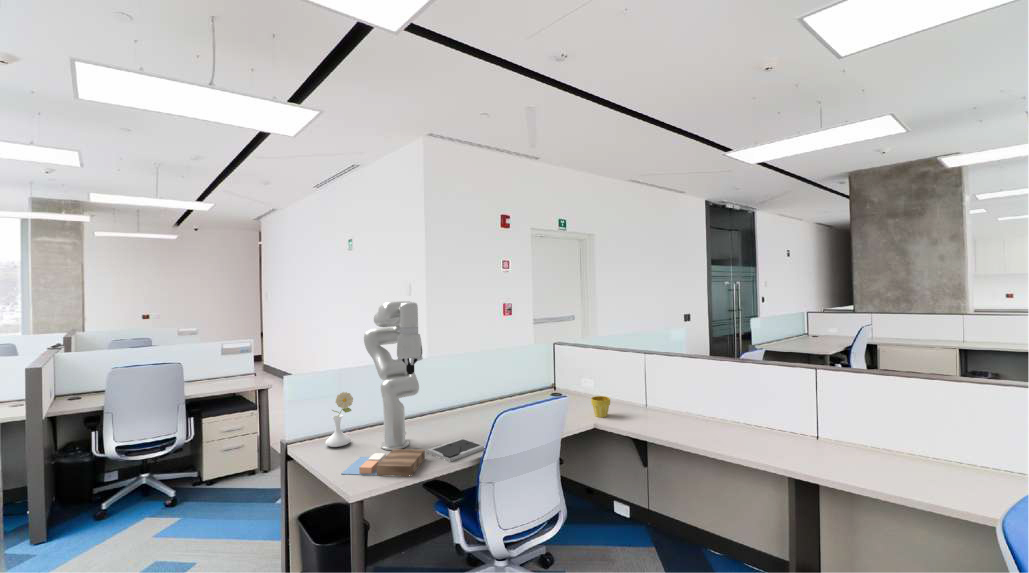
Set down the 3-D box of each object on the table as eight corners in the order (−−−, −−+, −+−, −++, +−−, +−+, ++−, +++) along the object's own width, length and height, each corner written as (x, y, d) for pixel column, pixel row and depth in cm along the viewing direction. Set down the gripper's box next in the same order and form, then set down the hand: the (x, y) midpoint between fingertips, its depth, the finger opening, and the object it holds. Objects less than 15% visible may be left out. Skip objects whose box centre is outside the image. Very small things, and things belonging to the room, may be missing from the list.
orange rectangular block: (378, 460, 199) (378, 466, 199) (366, 460, 200) (366, 466, 200) (371, 467, 192) (371, 473, 192) (359, 467, 193) (359, 473, 193)
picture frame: (449, 463, 203) (485, 449, 218) (449, 456, 203) (485, 443, 218) (427, 454, 214) (463, 441, 229) (427, 447, 214) (463, 436, 229)
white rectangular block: (385, 453, 207) (385, 459, 208) (374, 453, 208) (374, 458, 208) (379, 459, 201) (379, 465, 201) (367, 459, 201) (368, 465, 201)
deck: (393, 458, 209) (393, 449, 209) (424, 458, 207) (424, 449, 207) (377, 475, 191) (376, 465, 191) (411, 476, 190) (410, 466, 189)
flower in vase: (323, 450, 221) (321, 396, 220) (327, 442, 232) (325, 390, 231) (353, 447, 224) (351, 394, 223) (355, 439, 235) (354, 388, 234)
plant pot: (591, 418, 260) (591, 400, 260) (591, 413, 270) (590, 395, 270) (611, 418, 259) (610, 400, 259) (609, 413, 269) (609, 396, 269)
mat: (360, 457, 211) (360, 456, 211) (393, 458, 209) (393, 457, 209) (341, 474, 193) (341, 473, 193) (377, 475, 191) (377, 474, 191)
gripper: (389, 332, 203) (390, 375, 203) (423, 332, 201) (424, 375, 202) (395, 330, 210) (396, 372, 211) (428, 330, 209) (430, 372, 209)
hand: (410, 373), depth 206 cm, fingers closed
